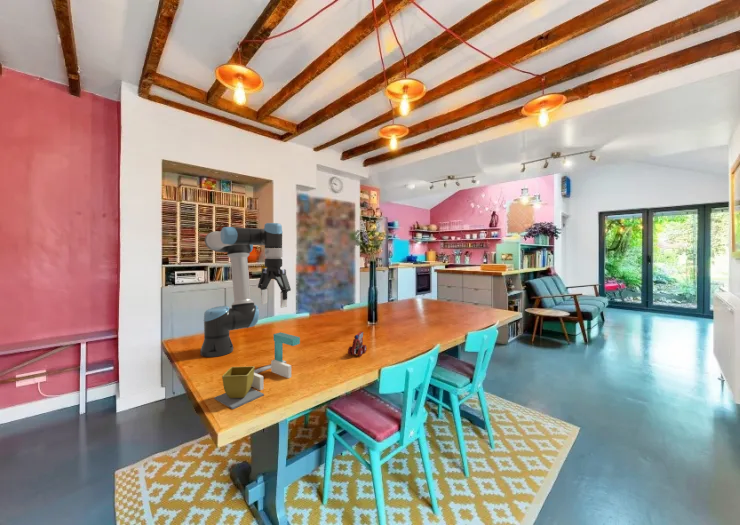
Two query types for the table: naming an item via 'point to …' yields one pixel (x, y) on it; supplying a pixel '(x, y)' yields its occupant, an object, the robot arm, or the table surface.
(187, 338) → the table surface
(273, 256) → the robot arm
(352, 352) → the toy fire truck
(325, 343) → the table surface
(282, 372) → the white bars
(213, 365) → the table surface
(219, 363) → the table surface
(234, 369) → the flower pot
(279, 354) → the gate
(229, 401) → the mat
